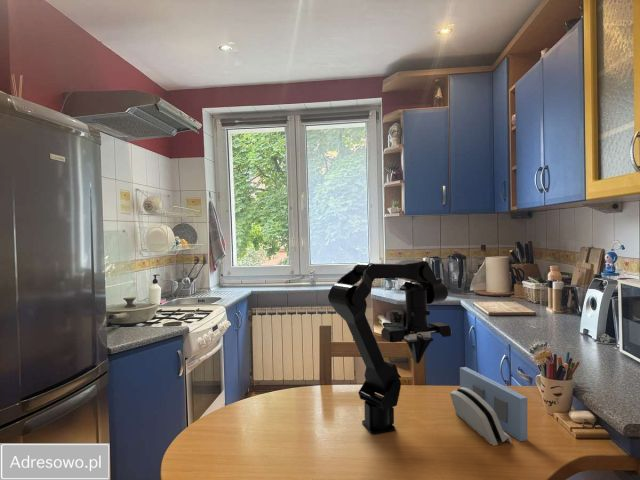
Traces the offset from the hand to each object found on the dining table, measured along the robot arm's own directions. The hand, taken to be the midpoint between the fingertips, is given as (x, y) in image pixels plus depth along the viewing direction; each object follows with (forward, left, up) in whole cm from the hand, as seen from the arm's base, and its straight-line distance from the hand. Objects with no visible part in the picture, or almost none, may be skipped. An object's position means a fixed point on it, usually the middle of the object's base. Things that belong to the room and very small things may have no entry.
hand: (416, 362), depth 108 cm
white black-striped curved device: (+9, -13, -13) cm, 21 cm away
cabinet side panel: (+15, -11, -13) cm, 23 cm away
